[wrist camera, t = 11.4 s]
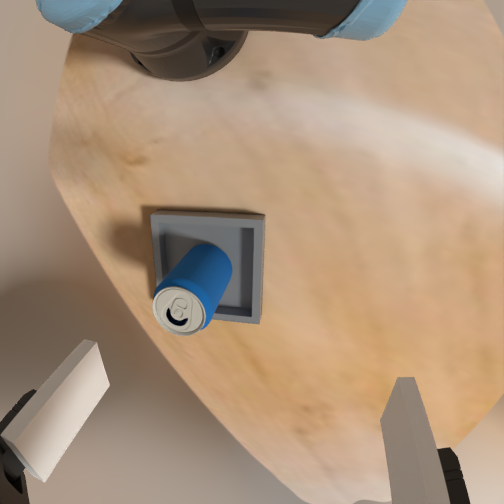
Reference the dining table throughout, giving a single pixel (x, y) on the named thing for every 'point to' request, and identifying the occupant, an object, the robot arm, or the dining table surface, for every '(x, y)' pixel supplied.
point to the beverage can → (192, 290)
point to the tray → (227, 239)
